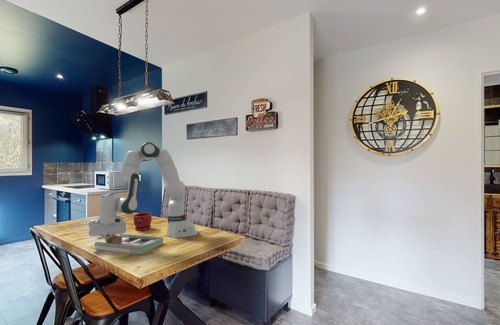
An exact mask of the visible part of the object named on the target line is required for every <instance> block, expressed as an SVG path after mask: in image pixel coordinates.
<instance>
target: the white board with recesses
mask: <svg viewBox="0 0 500 325" xmlns="http://www.w3.org/2000/svg"><path fill="white" fill-rule="evenodd" d="M118 235H119V236H120V237H122V243H121V244H112V243H106V242H105V241H104V242H101V241H95V242H94V249H95V250H100V251H101V250H102V251H112V252H119V253H128V254H131V253H130V250H139V251H142V247H141V246H139V245H141V244H143V243H145V242H148V241H150V240H158V239H160V238H162V240H163V241H164V237H163V236H157V235H156V236H154V235H143V234H134V233H133V234H132V233H131V234H130V233H121V234H118Z"/></svg>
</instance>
